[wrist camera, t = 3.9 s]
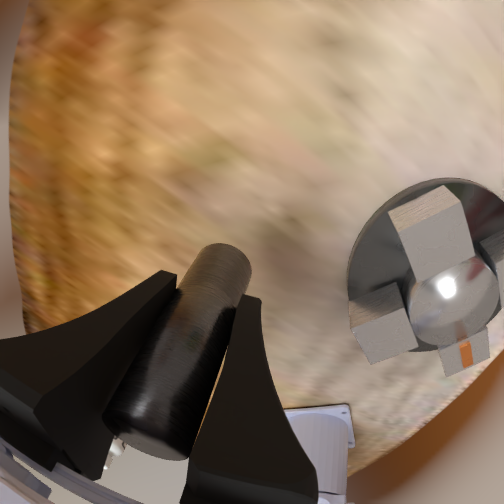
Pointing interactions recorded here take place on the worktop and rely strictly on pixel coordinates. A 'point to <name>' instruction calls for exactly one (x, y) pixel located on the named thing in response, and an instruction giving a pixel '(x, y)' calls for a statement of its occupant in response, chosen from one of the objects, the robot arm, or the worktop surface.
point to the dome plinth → (390, 248)
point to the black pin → (180, 358)
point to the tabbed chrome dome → (434, 288)
